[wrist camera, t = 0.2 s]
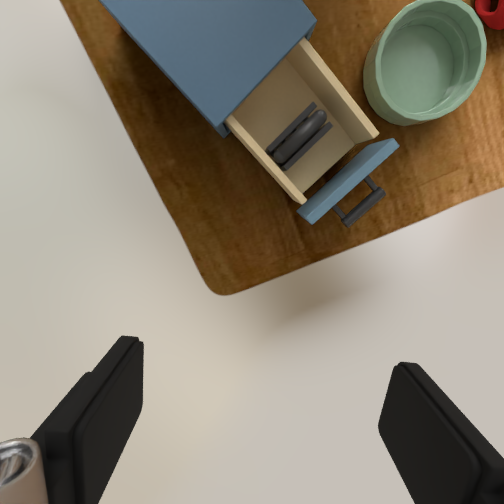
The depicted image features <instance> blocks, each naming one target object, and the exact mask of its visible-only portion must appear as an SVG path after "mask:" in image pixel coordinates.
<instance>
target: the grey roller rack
mask: <svg viewBox="0 0 504 504" xmlns="http://www.w3.org/2000/svg"><path fill="white" fill-rule="evenodd" d="M316 107H317V105H316V104H315V103H314V102H312V103H311V104H310V105H309V106H308V107H307V108H306V109H305V110H304V111H303V112H302V113H301V114H300V115H299V116H298V117H297V118H296V119H295V120H294V121H293V122H292V123H291V124H290V125H289V126H288V127H287V128H286V129H285V130H284V131H283V132H282V133H281V134H280V135H279V136H278V137H277V138H276V139H275V140H274V141H273V142H272V143H271V144H270V145H269V146H268V147H267V148H266V150H265V153H266V154H267V155H269V154H270V155H271V156H272V157H273V158H274V159H275V161H276V162H277V163H278V164H279V165H280V167H279V168H280V169H281V171H287V170H288V169H290V168H291V167H292V166H293V165H294V164H295V163H296V162H297V161H298V160H299V159H300V158H301V157H302V156H303V155H304V154H305V153H306V152H307V151H308V150H309V149H310V148H311V147H312V146H313V145H314V144H316V143H317V142H318V141H319V140H320V139H321V138H322V137H323V136H324V135H325V134H326V133H327V132H328V131H329V130H330V129H331V128H332V127H333V125H332V124H331V122H330V121H329V122H328V123H326V124H325V125H323V124H324V123H325V122H326V120H327V114H326V112H325V111H324V110H321V109H320V110H317V111H315V112H314V113H313V114H312V115H311V116H310V117H309V118H308V116H309V115H310V114H311V113H312V112H313V111H314V109H315V108H316ZM303 121H304V123H303V124H302V125H301V126H300V127H299V128H298V129H296V128H297V127H298V126H299V125H300V124H301V123H302V122H303ZM322 125H323V126H322ZM321 126H322V127H321ZM320 127H321V128H320ZM291 133H293V134H292V135H291V136H290V137H289V138H288V139H287V140H285V139H286V138H287V137H288V136H289V135H290V134H291ZM280 144H282V145H281V146H280V147H279V148H278V149H277V150H276V151H274V149H276V148H277V147H278V146H279V145H280Z"/></svg>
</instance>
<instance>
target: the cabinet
mask: <svg viewBox="0 0 504 504" xmlns="http://www.w3.org/2000/svg"><path fill="white" fill-rule="evenodd" d="M99 1H100V3H101V4H102V5H103V6H104V7H105V8H106V10H107V11H108V12H109V13H110V14H111V15H112V17H113V18H114V19H115V20H116V21H117V22H118V24H119V25H120V26H121V27H122V28H123V29H124V30H125V31H126V33H127V34H128V35H129V36H130V37H131V38H132V39H133V40H134V41H135V42H136V43H137V45H138V46H139V47H140V48H141V49H142V50H143V51H144V52H145V53H146V54H147V55H148V57H149V58H150V59H151V60H152V61H153V62H154V63H155V64H156V65H157V66H158V67H159V69H160V70H161V71H162V72H163V73H164V74H165V75H166V76H167V77H168V78H169V80H170V81H171V82H172V83H173V84H174V85H175V86H176V87H177V88H178V89H179V90H180V92H181V93H182V94H183V95H184V96H185V97H186V98H187V99H188V100H189V101H190V102H191V104H192V105H193V106H194V107H195V108H196V109H197V110H198V111H199V112H200V113H201V114H202V116H203V117H204V118H205V119H206V120H207V121H208V122H209V123H210V124H211V125H212V126H213V128H214V129H215V130H216V131H217V132H218V133H219V134H220V135H221V136H222V137H223V138H225V137H226V136H227V135H228V134H229V133H230V132H231V130H230V129H229V128H228V127H227V126H226V125H225V124H224V123H223V122H224V121H225V120H226V119H227V118H228V117H229V116H230V115H231V114H232V113H233V112H234V110H235V109H236V108H237V107H238V106H239V105H240V104H241V103H242V102H243V101H244V100H245V99H246V98H247V97H248V96H249V95H250V94H251V93H252V91H253V90H254V89H255V88H256V87H257V86H258V85H259V84H260V83H261V82H262V81H263V80H264V79H265V78H266V77H267V76H268V75H269V74H270V72H271V71H272V70H273V69H274V68H275V67H276V66H277V65H278V64H279V63H280V62H281V61H282V60H283V59H284V58H285V57H286V56H287V54H288V53H289V52H290V51H291V50H292V49H293V48H294V47H295V46H296V45H297V44H298V43H299V42H300V41H301V40H302V39H303V38H304V37H305V38H306V39H307V41H309V39H310V37H311V34H312V32H313V30H314V27H315V25H316V22H317V20H316V18H315V17H314V16H313V14H312V13H311V12H310V10H309V9H308V8H307V6H306V5H305V4H304V3H303V1H302V0H99Z"/></svg>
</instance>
